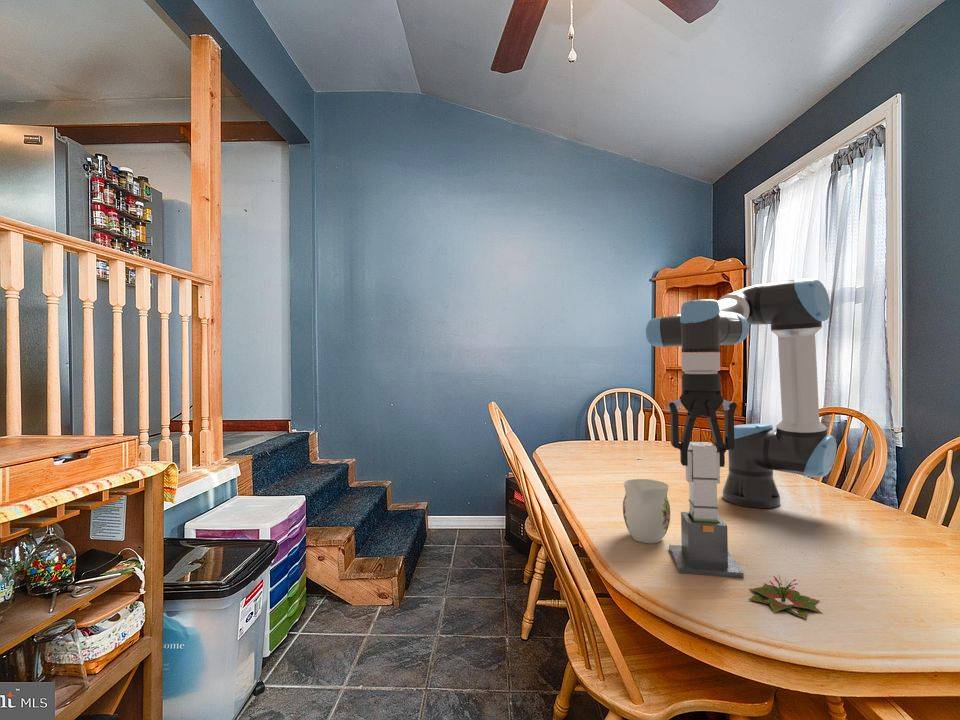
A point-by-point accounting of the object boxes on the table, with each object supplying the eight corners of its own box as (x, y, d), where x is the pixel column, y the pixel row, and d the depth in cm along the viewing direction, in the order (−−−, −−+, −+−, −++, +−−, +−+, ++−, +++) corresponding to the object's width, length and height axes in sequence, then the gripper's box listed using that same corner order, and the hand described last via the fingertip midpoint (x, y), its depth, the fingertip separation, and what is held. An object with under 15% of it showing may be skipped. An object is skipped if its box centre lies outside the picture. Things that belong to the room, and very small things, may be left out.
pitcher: (673, 527, 121) (672, 474, 121) (668, 554, 105) (667, 493, 105) (629, 521, 126) (628, 470, 126) (618, 546, 109) (617, 488, 109)
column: (712, 524, 102) (711, 442, 102) (718, 532, 97) (716, 446, 97) (689, 523, 103) (687, 441, 103) (693, 530, 98) (692, 445, 98)
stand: (726, 553, 105) (725, 510, 105) (743, 578, 93) (742, 530, 93) (669, 549, 107) (668, 508, 107) (679, 572, 96) (678, 526, 96)
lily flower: (758, 581, 93) (758, 558, 93) (832, 604, 84) (832, 578, 84) (735, 603, 85) (735, 578, 85) (814, 631, 76) (814, 603, 76)
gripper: (740, 371, 102) (742, 478, 102) (654, 372, 106) (656, 475, 106) (752, 372, 94) (754, 487, 95) (659, 373, 98) (661, 484, 99)
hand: (702, 481), depth 100 cm, fingers closed on column, 5 cm apart
